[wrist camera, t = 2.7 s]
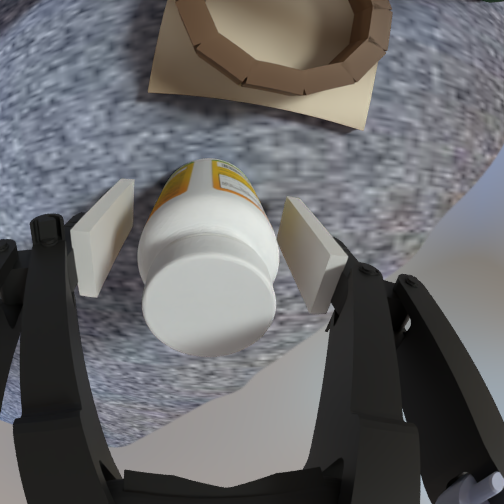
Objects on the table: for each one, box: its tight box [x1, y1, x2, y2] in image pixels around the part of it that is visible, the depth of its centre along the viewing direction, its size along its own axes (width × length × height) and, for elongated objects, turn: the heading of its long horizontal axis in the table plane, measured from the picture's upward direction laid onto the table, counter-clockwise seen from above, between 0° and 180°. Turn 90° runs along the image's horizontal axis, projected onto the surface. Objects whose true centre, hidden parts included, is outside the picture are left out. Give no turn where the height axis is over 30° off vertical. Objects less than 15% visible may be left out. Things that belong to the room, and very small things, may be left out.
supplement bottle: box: [137, 158, 279, 357], centre depth 12 cm, size 5×5×10 cm
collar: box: [148, 0, 393, 131], centre depth 10 cm, size 12×12×3 cm
